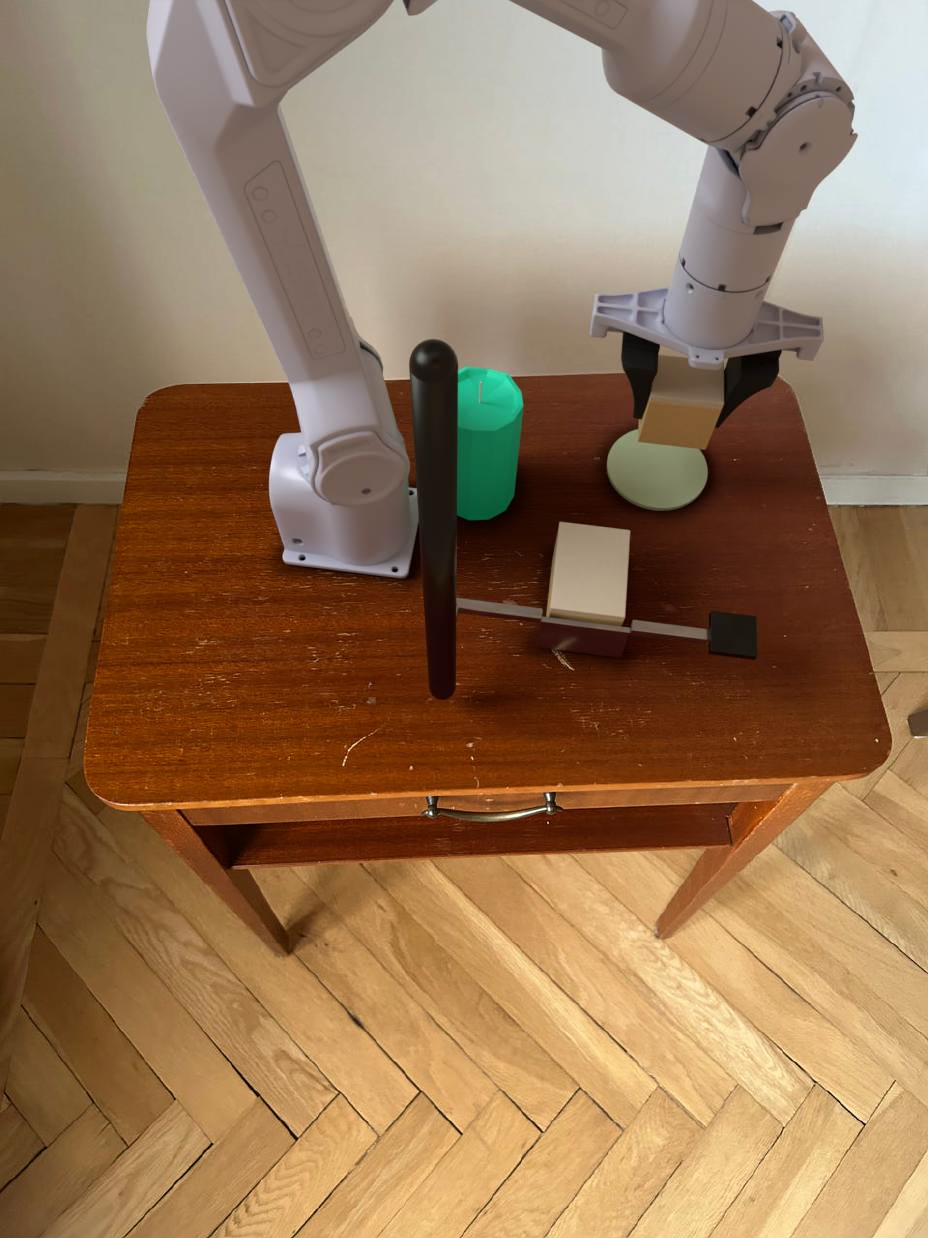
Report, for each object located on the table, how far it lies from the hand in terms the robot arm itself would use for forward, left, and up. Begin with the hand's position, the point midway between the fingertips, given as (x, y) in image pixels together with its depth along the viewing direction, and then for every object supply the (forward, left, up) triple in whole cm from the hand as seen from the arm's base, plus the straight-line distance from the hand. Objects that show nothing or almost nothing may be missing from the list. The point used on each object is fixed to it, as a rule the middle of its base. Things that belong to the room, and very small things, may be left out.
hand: (675, 412), depth 64 cm
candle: (-14, -4, -7) cm, 16 cm away
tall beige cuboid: (-5, -13, -7) cm, 15 cm away
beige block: (0, 0, -1) cm, 1 cm away
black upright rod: (-4, -19, -7) cm, 21 cm away
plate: (0, 0, -7) cm, 7 cm away
